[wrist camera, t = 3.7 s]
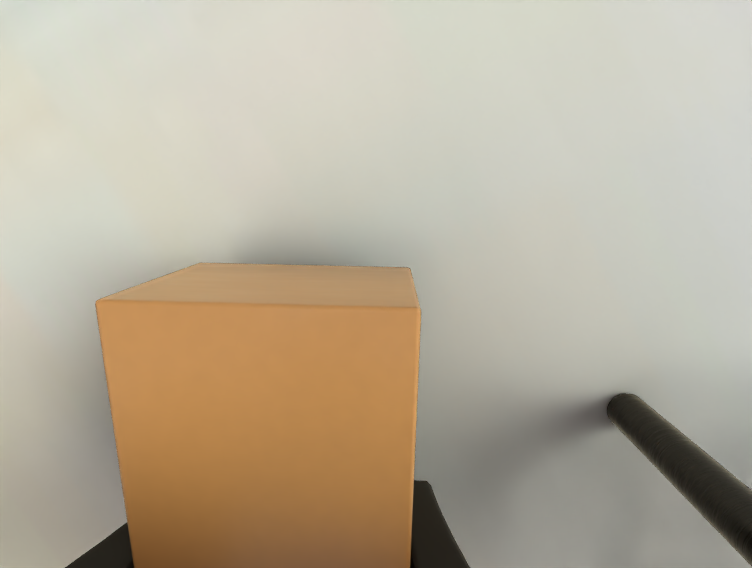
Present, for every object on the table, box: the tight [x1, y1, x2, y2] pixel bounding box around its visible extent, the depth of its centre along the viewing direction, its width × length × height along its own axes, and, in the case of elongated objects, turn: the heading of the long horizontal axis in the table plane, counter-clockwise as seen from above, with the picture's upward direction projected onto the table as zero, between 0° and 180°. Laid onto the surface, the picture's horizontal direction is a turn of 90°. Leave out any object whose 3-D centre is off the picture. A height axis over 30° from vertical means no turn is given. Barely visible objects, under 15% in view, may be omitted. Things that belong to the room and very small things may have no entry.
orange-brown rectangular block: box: [95, 263, 421, 568], centre depth 9 cm, size 12×4×4 cm, turn 179°
